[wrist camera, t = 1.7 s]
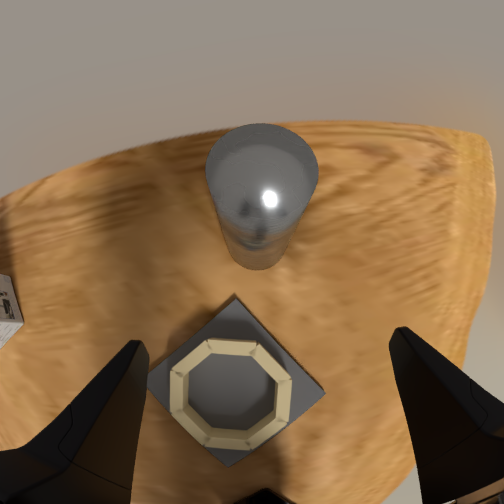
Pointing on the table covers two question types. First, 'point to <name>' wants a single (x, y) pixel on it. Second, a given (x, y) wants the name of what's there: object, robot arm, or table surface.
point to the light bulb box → (8, 310)
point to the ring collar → (232, 385)
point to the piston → (260, 190)
